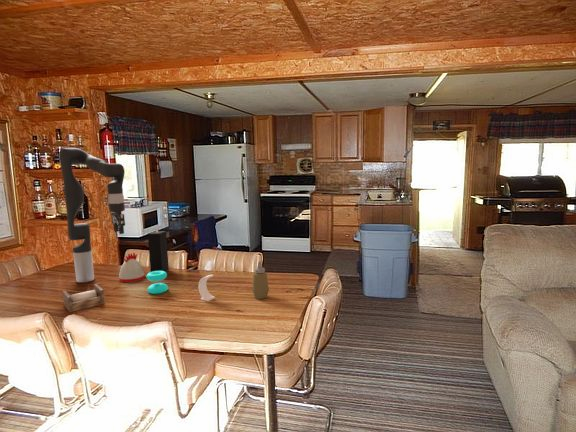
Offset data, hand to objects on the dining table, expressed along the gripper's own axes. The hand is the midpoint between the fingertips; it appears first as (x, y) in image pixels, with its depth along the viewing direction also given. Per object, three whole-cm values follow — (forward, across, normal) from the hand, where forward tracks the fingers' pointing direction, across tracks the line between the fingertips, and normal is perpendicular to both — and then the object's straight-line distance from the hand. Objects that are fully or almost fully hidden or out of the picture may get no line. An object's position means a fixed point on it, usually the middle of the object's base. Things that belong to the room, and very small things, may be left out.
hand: (119, 232), depth 197 cm
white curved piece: (+30, +47, +24) cm, 61 cm away
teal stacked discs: (+30, +19, +11) cm, 37 cm away
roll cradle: (+30, +12, -22) cm, 39 cm away
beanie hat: (+30, -14, +9) cm, 35 cm away
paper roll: (+29, +12, -22) cm, 38 cm away
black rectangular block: (+30, -15, +26) cm, 43 cm away
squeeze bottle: (+30, +64, +44) cm, 83 cm away
